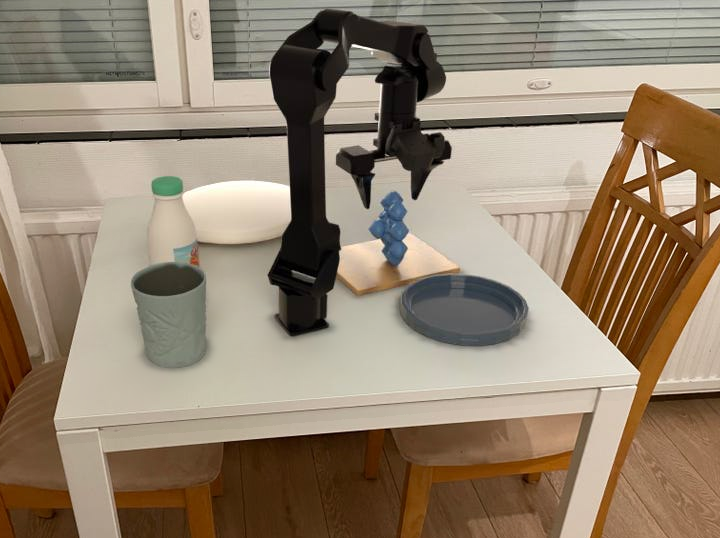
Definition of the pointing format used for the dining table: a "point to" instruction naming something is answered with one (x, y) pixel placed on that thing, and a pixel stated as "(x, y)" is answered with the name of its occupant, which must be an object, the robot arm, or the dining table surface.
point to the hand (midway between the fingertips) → (390, 203)
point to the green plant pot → (172, 312)
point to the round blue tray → (463, 309)
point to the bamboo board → (389, 265)
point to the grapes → (391, 228)
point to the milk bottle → (171, 225)
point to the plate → (239, 211)
